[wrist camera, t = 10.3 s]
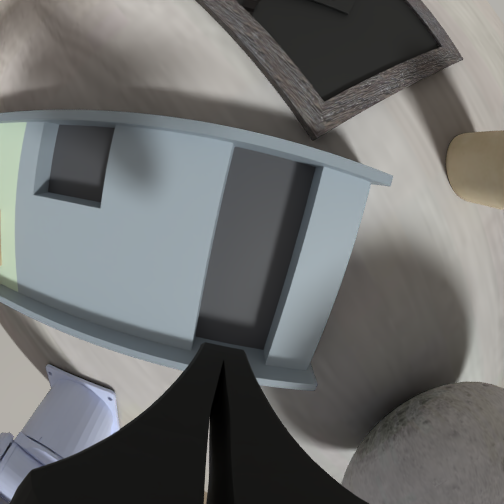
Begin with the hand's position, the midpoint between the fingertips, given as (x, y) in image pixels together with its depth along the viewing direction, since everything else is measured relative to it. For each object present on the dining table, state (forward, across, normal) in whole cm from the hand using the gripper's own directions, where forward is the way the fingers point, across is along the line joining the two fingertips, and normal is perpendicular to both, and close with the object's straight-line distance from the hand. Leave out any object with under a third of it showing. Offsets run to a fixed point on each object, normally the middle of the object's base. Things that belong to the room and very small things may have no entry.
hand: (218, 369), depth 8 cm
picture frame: (+11, 0, -22) cm, 25 cm away
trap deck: (+10, +8, -1) cm, 13 cm away
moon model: (+10, -22, +13) cm, 27 cm away
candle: (+10, -16, -12) cm, 22 cm away
